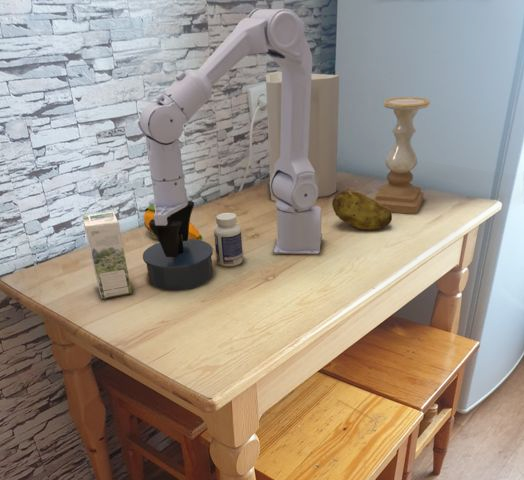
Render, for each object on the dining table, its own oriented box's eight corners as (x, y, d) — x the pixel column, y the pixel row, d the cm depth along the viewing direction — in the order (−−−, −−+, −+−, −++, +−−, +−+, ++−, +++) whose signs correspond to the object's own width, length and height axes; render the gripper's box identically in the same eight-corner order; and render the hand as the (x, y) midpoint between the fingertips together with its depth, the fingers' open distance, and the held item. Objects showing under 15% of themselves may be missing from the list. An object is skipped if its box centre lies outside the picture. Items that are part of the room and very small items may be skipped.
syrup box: (127, 281, 110) (113, 209, 102) (132, 294, 105) (118, 219, 97) (98, 287, 108) (81, 214, 100) (101, 300, 103) (84, 225, 96)
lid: (219, 243, 113) (217, 221, 111) (204, 273, 102) (201, 248, 100) (155, 243, 115) (151, 221, 112) (133, 271, 104) (129, 247, 101)
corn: (159, 193, 130) (211, 212, 118) (165, 223, 135) (216, 246, 122) (131, 203, 127) (182, 224, 114) (139, 234, 131) (189, 258, 118)
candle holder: (370, 210, 137) (376, 104, 124) (380, 196, 145) (387, 95, 132) (415, 214, 133) (427, 106, 120) (423, 199, 141) (435, 96, 128)
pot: (218, 263, 115) (216, 242, 112) (204, 291, 105) (202, 268, 102) (159, 262, 117) (156, 241, 114) (140, 289, 107) (136, 267, 104)
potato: (380, 237, 122) (383, 201, 118) (327, 228, 128) (327, 193, 124) (394, 225, 128) (397, 190, 124) (342, 216, 134) (343, 183, 130)
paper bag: (246, 195, 151) (239, 80, 135) (279, 180, 160) (276, 71, 145) (306, 207, 141) (306, 84, 125) (337, 190, 150) (340, 75, 135)
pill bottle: (248, 259, 116) (245, 213, 111) (233, 269, 112) (229, 222, 107) (226, 254, 118) (223, 209, 113) (211, 264, 115) (206, 218, 109)
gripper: (157, 165, 107) (167, 233, 114) (132, 189, 95) (145, 263, 102) (193, 165, 106) (201, 233, 113) (172, 189, 94) (182, 264, 101)
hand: (177, 248), depth 108 cm, fingers open, 7 cm apart
